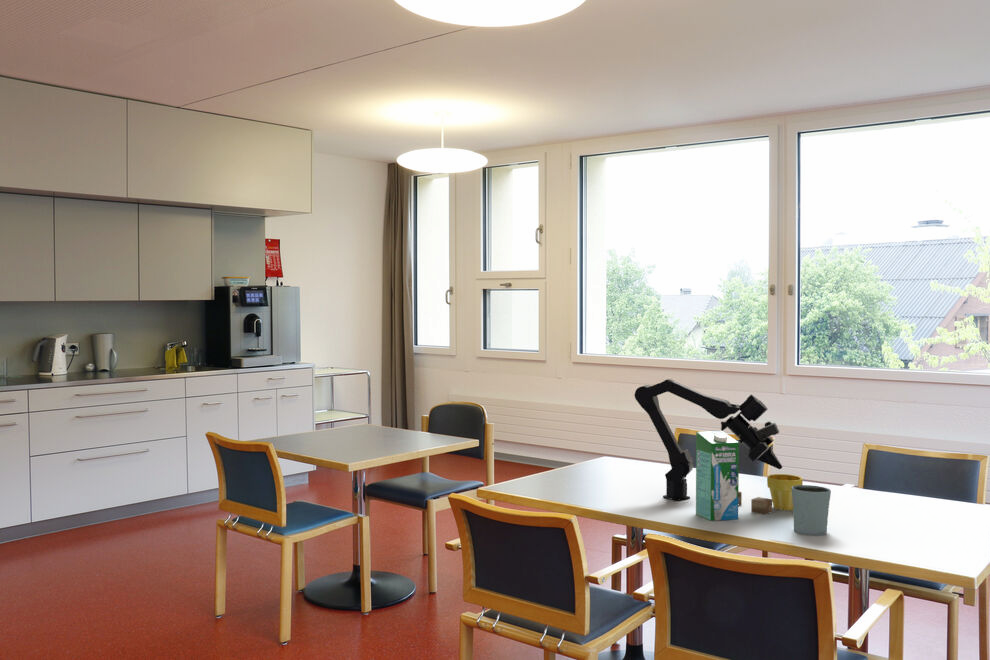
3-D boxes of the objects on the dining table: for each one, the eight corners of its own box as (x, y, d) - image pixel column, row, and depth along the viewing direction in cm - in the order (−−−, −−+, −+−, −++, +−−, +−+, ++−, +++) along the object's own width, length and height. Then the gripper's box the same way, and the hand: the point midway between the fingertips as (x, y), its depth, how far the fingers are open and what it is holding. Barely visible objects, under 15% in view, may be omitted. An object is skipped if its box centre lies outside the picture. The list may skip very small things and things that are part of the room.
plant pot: (778, 512, 247) (778, 480, 247) (760, 505, 257) (761, 474, 257) (809, 511, 249) (809, 479, 249) (790, 503, 259) (790, 473, 259)
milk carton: (711, 521, 237) (711, 435, 236) (695, 513, 245) (696, 431, 245) (738, 519, 239) (739, 434, 239) (722, 512, 248) (722, 430, 247)
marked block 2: (765, 514, 245) (765, 501, 245) (751, 512, 248) (751, 498, 248) (772, 512, 248) (772, 498, 248) (758, 509, 251) (758, 496, 251)
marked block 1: (728, 505, 257) (728, 492, 257) (721, 502, 261) (721, 489, 261) (741, 504, 258) (741, 491, 258) (733, 501, 263) (733, 488, 263)
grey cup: (784, 531, 226) (785, 488, 225) (801, 524, 233) (801, 483, 232) (820, 538, 218) (821, 493, 218) (836, 531, 225) (836, 488, 225)
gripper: (759, 417, 247) (798, 455, 242) (766, 411, 264) (802, 446, 259) (732, 441, 250) (770, 480, 246) (741, 434, 267) (777, 469, 263)
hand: (781, 468), depth 253 cm, fingers closed
